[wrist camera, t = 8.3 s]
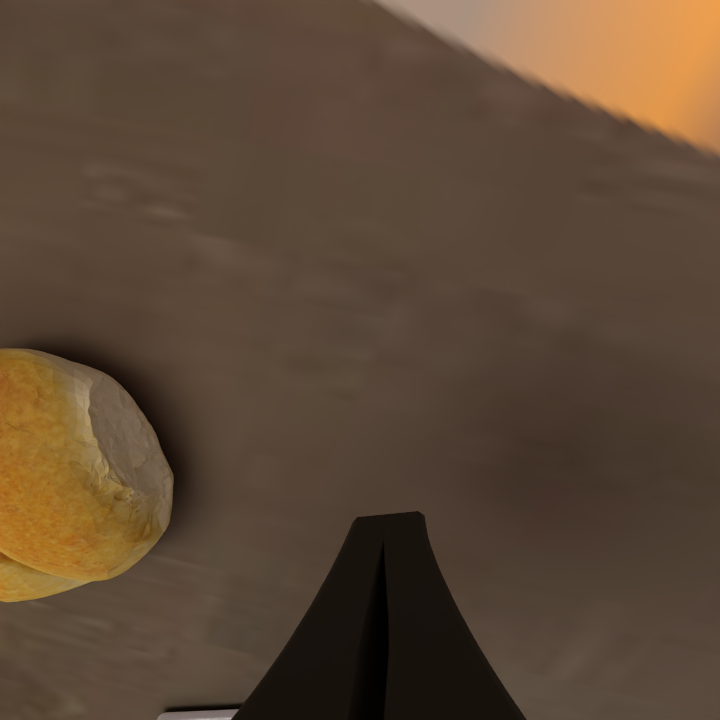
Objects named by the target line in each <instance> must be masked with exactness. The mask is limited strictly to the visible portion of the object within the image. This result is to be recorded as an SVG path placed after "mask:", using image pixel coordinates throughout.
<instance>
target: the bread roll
mask: <svg viewBox="0 0 720 720" xmlns="http://www.w3.org/2000/svg"><path fill="white" fill-rule="evenodd" d="M173 483H174V477H173V473H172V471H171V469H170V467H169V464H168V462H167V460H166V458H165V456H164V454H163V452H162V450H161V447H160V444H159V441H158V438H157V435H156V433H155V431H154V429H153V428H152V426H151V424H150V423H149V422H148V420H147V419H146V417H145V415H144V414H143V412H142V411H141V410H140V408H139V407H138V406H137V404H136V403H135V401H134V400H133V399H132V397H131V396H130V395H129V393H128V392H127V391H126V390H125V389H124V388H123V387H122V386H121V385H120V384H119V383H118V382H117V381H116V380H115V379H113V378H112V377H110V376H109V375H107V374H105V373H103V372H101V371H99V370H96V369H94V368H91V367H89V366H86V365H83V364H80V363H76V362H72V361H69V360H66V359H64V358H61V357H58V356H55V355H52V354H49V353H45V352H42V351H37V350H32V349H20V348H0V601H4V602H15V601H23V600H30V599H37V598H42V597H46V596H49V595H53V594H57V593H61V592H64V591H67V590H69V589H72V588H75V587H78V586H81V585H83V584H86V583H89V582H91V581H101V580H108V579H110V578H112V577H115V576H117V575H120V574H122V573H123V572H125V571H126V570H128V569H129V568H131V567H132V566H133V565H134V564H135V563H137V562H138V561H139V560H140V559H141V558H142V557H143V556H144V555H145V554H147V553H148V552H149V551H150V550H151V549H152V547H153V546H154V545H155V544H156V543H157V541H158V540H159V539H160V537H161V536H162V534H163V533H164V531H165V530H166V528H167V526H168V524H169V522H170V515H171V510H172V497H173Z"/></svg>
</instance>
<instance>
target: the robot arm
mask: <svg viewBox="0 0 720 720" xmlns="http://www.w3.org/2000/svg"><path fill="white" fill-rule="evenodd" d="M157 720H526V718H525V717H524V715H523V714H522V712H521V711H520V709H519V708H518V707H517V705H516V704H515V702H514V701H513V699H512V698H511V696H510V695H509V693H508V692H507V690H506V689H505V687H504V686H503V684H502V683H501V681H500V680H499V678H498V676H497V675H496V673H495V672H494V670H493V669H492V667H491V665H490V664H489V662H488V661H487V659H486V657H485V656H484V654H483V652H482V651H481V649H480V647H479V646H478V644H477V642H476V640H475V639H474V637H473V635H472V633H471V632H470V630H469V628H468V626H467V624H466V622H465V621H464V619H463V617H462V615H461V613H460V611H459V609H458V607H457V605H456V603H455V602H454V600H453V597H452V595H451V593H450V591H449V589H448V587H447V585H446V582H445V580H444V578H443V576H442V574H441V571H440V569H439V567H438V564H437V562H436V559H435V556H434V554H433V551H432V548H431V545H430V542H429V539H428V534H427V528H426V522H425V516H424V515H423V514H421V513H420V512H418V511H416V512H406V513H396V514H386V515H376V516H366V517H357V518H356V520H355V521H354V522H353V523H352V526H351V528H350V530H349V533H348V535H347V537H346V539H345V542H344V544H343V546H342V548H341V550H340V552H339V554H338V556H337V558H336V560H335V562H334V564H333V566H332V568H331V570H330V572H329V573H328V575H327V577H326V579H325V581H324V583H323V584H322V586H321V588H320V590H319V592H318V593H317V595H316V597H315V599H314V601H313V602H312V604H311V606H310V607H309V609H308V611H307V612H306V614H305V616H304V617H303V619H302V620H301V622H300V624H299V625H298V627H297V628H296V630H295V631H294V633H293V635H292V636H291V638H290V639H289V641H288V643H287V644H286V646H285V647H284V649H283V650H282V652H281V653H280V655H279V656H278V658H277V659H276V660H275V662H274V663H273V665H272V666H271V668H270V669H269V670H268V672H267V673H266V675H265V676H264V677H263V679H262V680H261V681H260V683H259V684H258V685H257V687H256V688H255V689H254V691H253V692H252V693H251V695H250V696H249V697H248V699H247V700H246V701H245V703H244V704H243V705H242V706H241V707H240V709H229V710H207V711H185V712H166V713H162V714H160V715H159V716H158V718H157Z"/></svg>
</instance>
